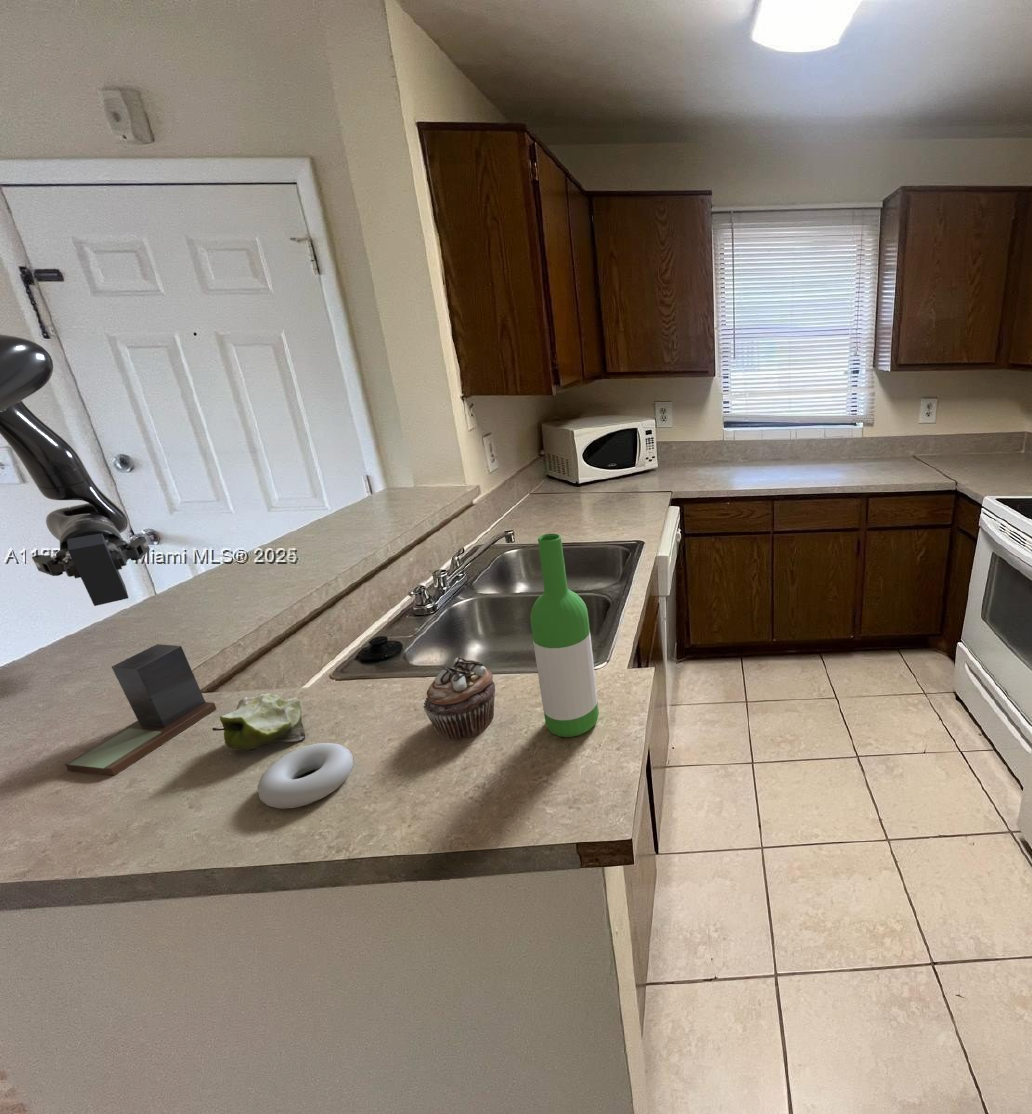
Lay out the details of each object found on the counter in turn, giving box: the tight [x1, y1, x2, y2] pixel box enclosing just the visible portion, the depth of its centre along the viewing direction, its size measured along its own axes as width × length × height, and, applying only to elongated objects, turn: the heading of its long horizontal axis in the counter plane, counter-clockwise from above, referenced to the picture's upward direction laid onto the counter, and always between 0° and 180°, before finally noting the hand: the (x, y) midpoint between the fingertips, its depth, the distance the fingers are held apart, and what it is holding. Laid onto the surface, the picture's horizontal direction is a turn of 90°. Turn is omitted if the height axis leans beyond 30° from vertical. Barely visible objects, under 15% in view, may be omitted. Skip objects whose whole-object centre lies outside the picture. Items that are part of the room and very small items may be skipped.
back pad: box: [67, 533, 130, 607], centre depth 95 cm, size 7×4×10 cm, turn 48°
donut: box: [257, 742, 354, 810], centre depth 73 cm, size 10×3×10 cm
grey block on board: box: [64, 643, 217, 776], centre depth 79 cm, size 7×14×11 cm, turn 173°
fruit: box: [211, 692, 306, 752], centre depth 80 cm, size 9×9×8 cm
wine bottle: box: [529, 533, 600, 738], centre depth 80 cm, size 8×8×30 cm
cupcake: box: [423, 656, 496, 741], centre depth 83 cm, size 10×10×10 cm
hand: (96, 568), depth 93 cm, fingers closed on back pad, 4 cm apart
